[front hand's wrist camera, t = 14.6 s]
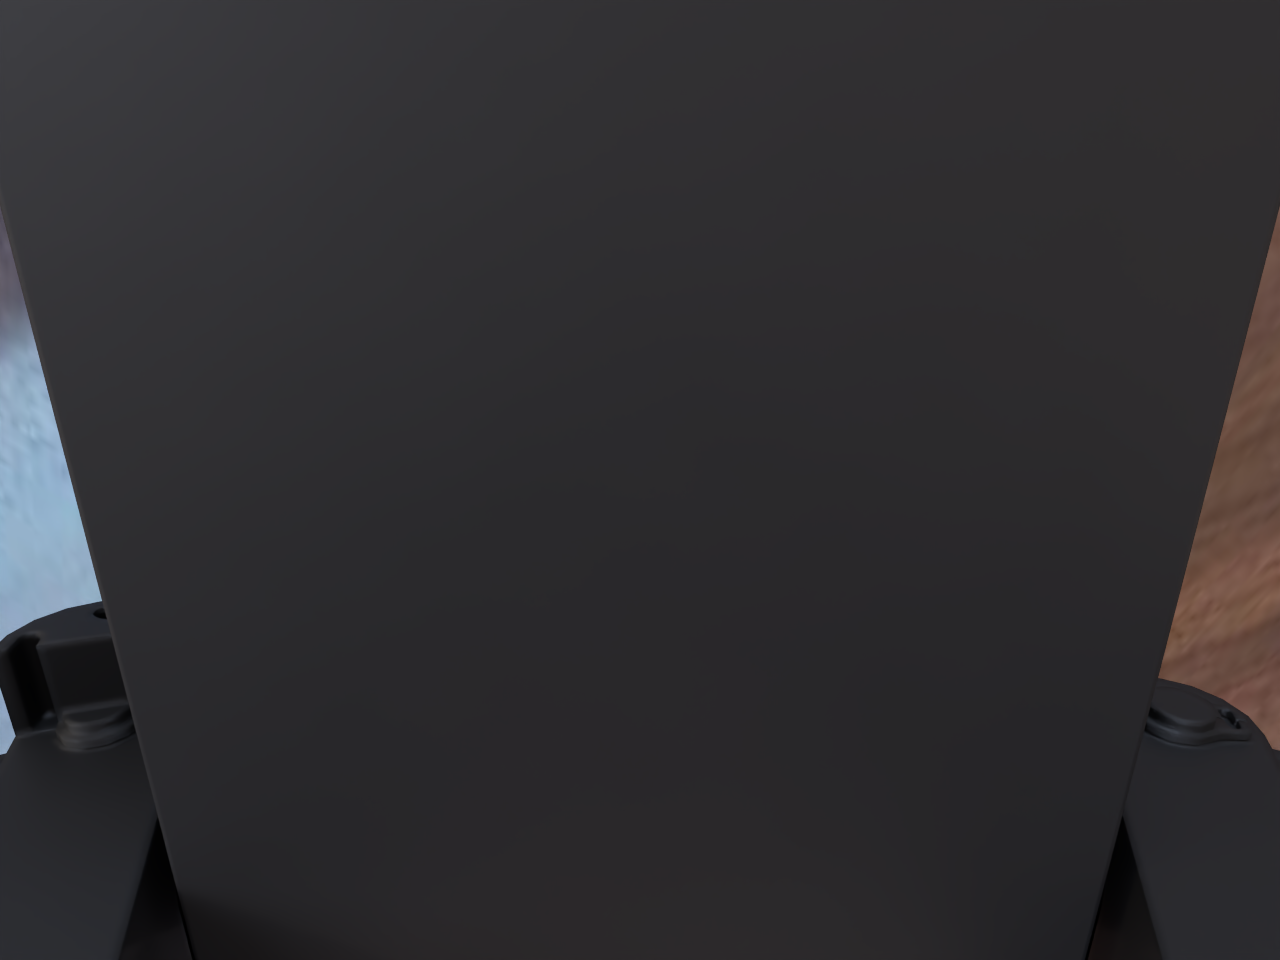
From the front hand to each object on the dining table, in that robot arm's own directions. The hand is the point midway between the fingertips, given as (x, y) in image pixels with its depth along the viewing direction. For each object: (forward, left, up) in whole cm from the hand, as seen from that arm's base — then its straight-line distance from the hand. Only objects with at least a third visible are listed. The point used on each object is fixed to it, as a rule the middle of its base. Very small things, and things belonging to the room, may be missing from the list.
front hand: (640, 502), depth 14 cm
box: (+5, +8, -1) cm, 9 cm away
